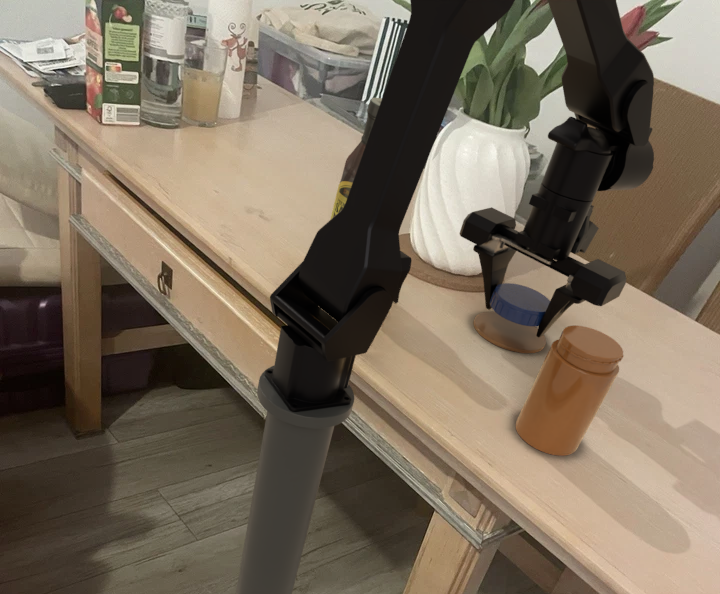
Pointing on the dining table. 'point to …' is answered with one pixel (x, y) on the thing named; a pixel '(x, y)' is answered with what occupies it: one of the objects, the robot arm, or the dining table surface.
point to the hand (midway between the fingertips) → (513, 322)
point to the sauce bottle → (355, 159)
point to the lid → (519, 304)
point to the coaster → (508, 333)
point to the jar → (569, 390)
